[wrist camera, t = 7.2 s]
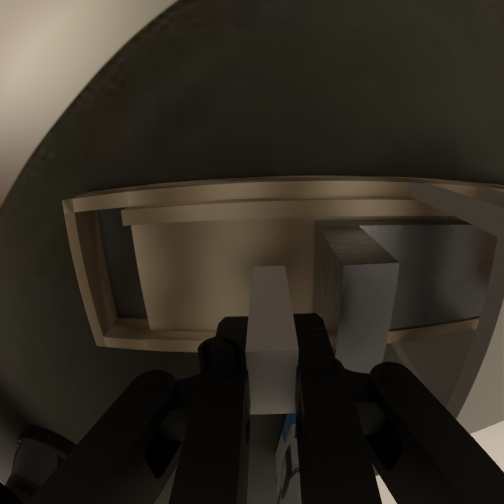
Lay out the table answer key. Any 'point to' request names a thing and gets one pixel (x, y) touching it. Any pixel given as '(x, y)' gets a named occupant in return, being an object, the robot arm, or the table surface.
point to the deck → (220, 249)
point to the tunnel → (467, 342)
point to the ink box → (288, 465)
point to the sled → (395, 280)
